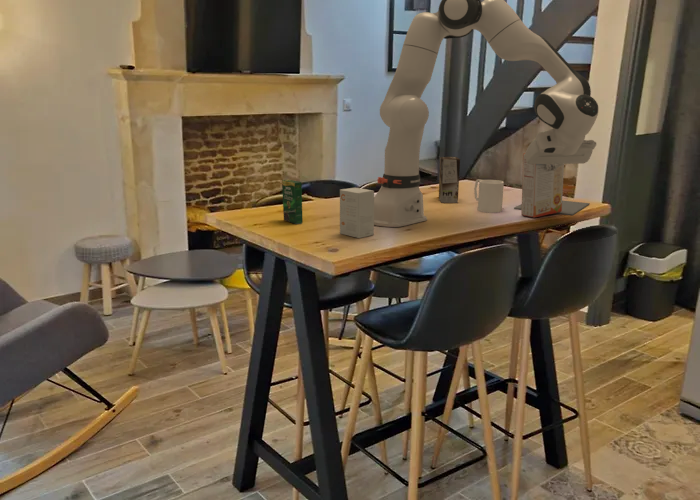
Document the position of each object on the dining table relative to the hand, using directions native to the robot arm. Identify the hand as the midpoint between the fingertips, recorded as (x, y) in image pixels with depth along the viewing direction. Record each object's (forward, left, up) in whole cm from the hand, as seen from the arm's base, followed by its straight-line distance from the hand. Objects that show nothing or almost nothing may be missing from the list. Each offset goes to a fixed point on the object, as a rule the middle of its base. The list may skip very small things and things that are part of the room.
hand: (549, 169), depth 199 cm
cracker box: (+3, +2, -16) cm, 16 cm away
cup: (+2, +21, -16) cm, 27 cm away
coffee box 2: (+10, +39, -16) cm, 44 cm away
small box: (-55, +38, -16) cm, 69 cm away
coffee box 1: (-52, +64, -16) cm, 84 cm away
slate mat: (+20, +3, -16) cm, 26 cm away
